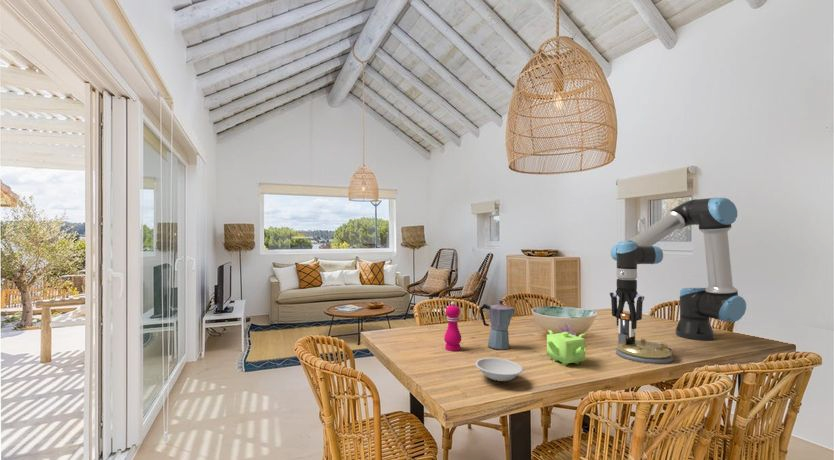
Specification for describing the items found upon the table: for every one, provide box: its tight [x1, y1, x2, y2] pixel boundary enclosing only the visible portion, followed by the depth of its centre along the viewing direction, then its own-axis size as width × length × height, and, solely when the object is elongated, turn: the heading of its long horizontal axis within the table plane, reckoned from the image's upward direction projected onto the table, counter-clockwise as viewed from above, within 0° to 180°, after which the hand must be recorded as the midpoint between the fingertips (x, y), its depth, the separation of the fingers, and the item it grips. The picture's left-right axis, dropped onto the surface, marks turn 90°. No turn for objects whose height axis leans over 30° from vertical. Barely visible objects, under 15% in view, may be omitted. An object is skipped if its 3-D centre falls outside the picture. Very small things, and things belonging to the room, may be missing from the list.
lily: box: [557, 320, 577, 336], centre depth 178 cm, size 12×12×10 cm
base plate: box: [615, 347, 674, 365], centre depth 164 cm, size 20×20×2 cm
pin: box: [620, 312, 632, 344], centre depth 169 cm, size 4×4×12 cm
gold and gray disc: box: [616, 331, 673, 359], centre depth 164 cm, size 19×19×6 cm
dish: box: [475, 357, 524, 382], centre depth 137 cm, size 18×14×5 cm
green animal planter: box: [546, 329, 587, 366], centre depth 156 cm, size 15×14×11 cm
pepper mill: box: [443, 301, 462, 352], centre depth 173 cm, size 7×7×20 cm
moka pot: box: [479, 300, 517, 351], centre depth 175 cm, size 10×15×20 cm, turn 78°
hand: (626, 335), depth 169 cm, fingers closed on pin, 4 cm apart
